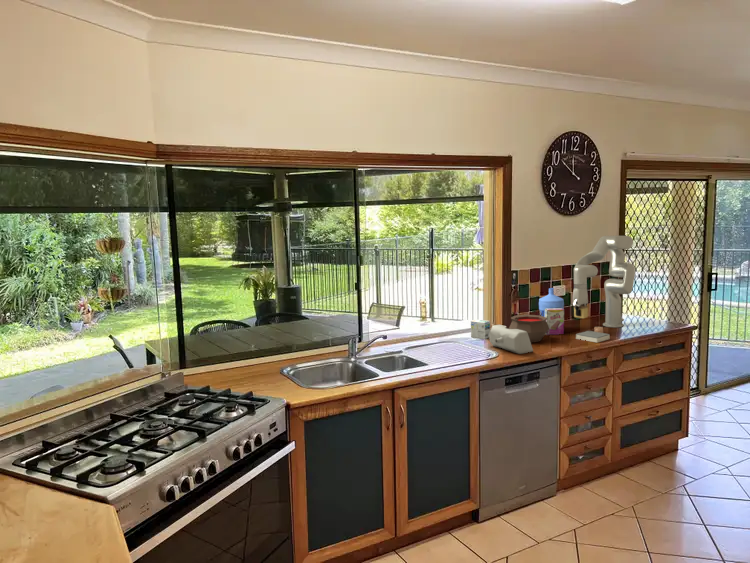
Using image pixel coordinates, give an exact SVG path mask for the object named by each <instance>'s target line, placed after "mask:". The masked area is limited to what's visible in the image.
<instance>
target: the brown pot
mask: <svg viewBox="0 0 750 563" xmlns="http://www.w3.org/2000/svg"><path fill="white" fill-rule="evenodd" d="M540 313H541V312H540V311H539V312H538V315H535V314H521V315H520V314H519V315H514V316H511V317H510V319H511V323H510V325H509V327H508V329H519V330H523V331H526V332H527V333H528V336H529V339H530V342H531V343H537V342H538V343H539V342H540V341H542V339H544V337H545V336H546V333H547V331H548V330H549V327H548V324H547V322H546V319H547V318H546V317H544V315H543V316H541V315H542V313H541V315H540Z"/></svg>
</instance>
